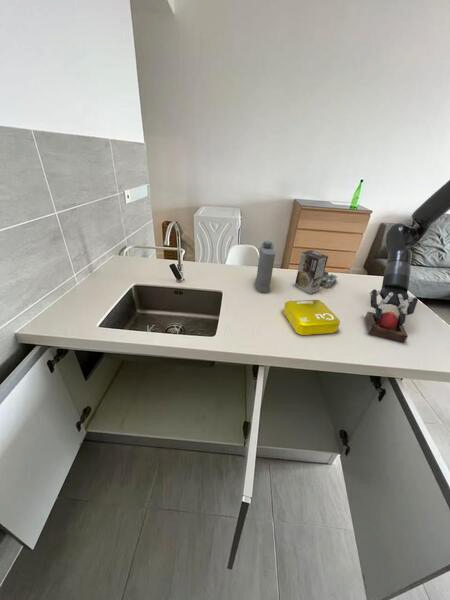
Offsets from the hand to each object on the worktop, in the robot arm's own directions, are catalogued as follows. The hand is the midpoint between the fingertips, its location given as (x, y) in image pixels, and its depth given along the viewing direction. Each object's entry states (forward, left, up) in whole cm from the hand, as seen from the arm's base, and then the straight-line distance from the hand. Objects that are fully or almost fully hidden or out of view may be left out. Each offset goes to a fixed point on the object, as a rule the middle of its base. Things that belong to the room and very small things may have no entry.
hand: (389, 322), depth 82 cm
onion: (0, -2, -4) cm, 5 cm away
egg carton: (+20, -32, -4) cm, 38 cm away
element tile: (+25, +4, -4) cm, 26 cm away
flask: (+47, -16, -4) cm, 50 cm away
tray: (0, -2, -4) cm, 5 cm away
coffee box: (+28, -22, -4) cm, 36 cm away
